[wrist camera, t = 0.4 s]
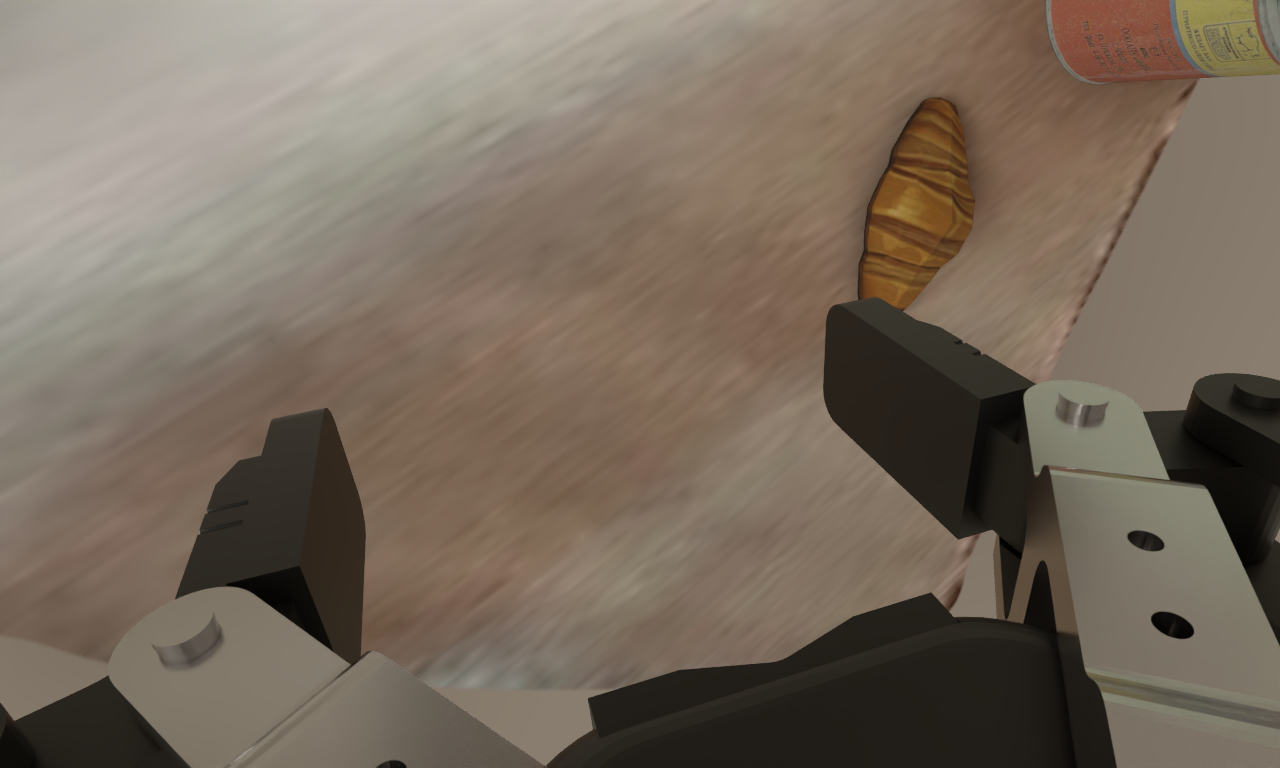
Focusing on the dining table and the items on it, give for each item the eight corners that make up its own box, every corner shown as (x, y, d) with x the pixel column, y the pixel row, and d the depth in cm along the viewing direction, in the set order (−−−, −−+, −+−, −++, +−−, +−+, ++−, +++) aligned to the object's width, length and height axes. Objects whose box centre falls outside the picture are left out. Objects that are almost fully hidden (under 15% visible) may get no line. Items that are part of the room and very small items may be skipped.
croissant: (903, 325, 49) (959, 346, 44) (819, 312, 46) (869, 332, 42) (969, 112, 45) (1036, 111, 41) (882, 84, 43) (945, 79, 38)
